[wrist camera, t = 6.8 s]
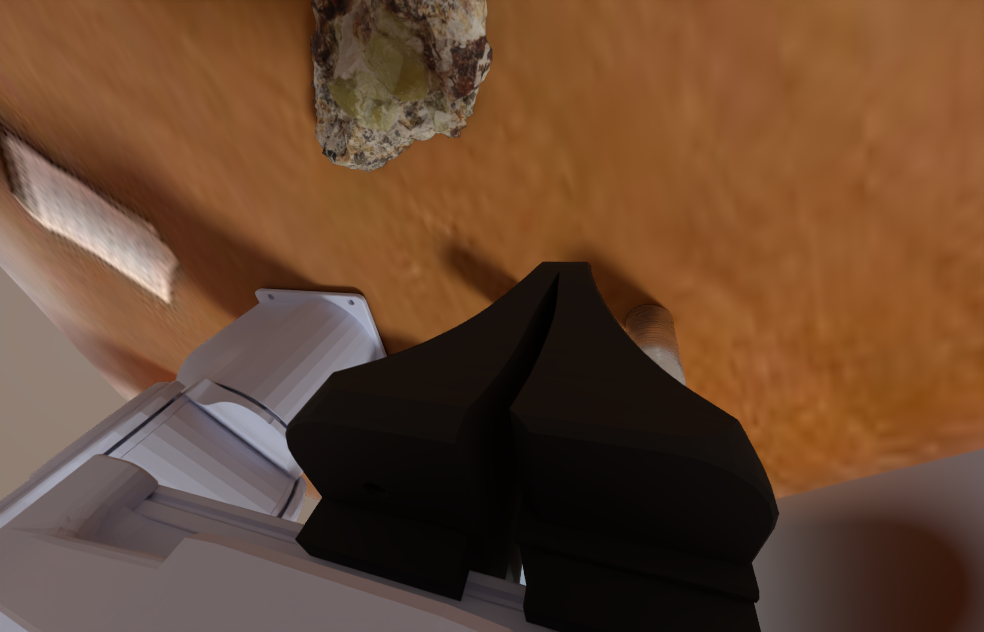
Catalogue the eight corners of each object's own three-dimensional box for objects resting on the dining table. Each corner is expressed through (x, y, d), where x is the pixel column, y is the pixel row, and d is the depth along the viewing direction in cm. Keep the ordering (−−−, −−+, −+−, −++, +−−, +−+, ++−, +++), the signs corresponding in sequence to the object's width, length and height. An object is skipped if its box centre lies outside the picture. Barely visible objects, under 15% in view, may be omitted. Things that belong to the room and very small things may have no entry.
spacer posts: (507, 328, 23) (485, 385, 19) (435, -299, 10) (324, -510, 6) (669, 340, 20) (680, 410, 16) (846, -490, 7) (1088, -1056, 4)
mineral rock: (328, -239, 10) (500, -1, 10) (424, -143, 14) (551, 34, 14) (243, 86, 17) (349, 227, 17) (322, 95, 20) (410, 211, 20)
